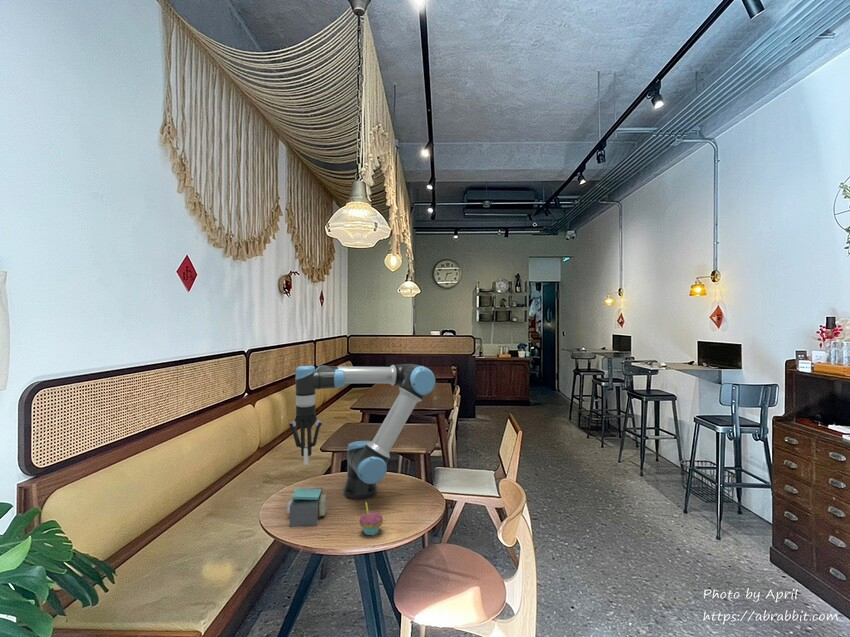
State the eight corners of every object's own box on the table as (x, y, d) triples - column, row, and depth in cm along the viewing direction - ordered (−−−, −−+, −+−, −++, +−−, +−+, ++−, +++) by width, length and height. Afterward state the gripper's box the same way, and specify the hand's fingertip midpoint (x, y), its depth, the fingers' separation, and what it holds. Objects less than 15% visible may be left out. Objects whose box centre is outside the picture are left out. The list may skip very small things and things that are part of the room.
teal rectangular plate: (321, 491, 175) (321, 489, 175) (318, 500, 167) (318, 497, 167) (296, 490, 174) (296, 488, 174) (292, 499, 166) (292, 496, 166)
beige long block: (326, 508, 175) (326, 494, 175) (324, 515, 169) (324, 500, 169) (290, 510, 173) (289, 495, 173) (286, 517, 167) (286, 501, 167)
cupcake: (361, 540, 153) (361, 507, 153) (358, 528, 161) (358, 497, 161) (384, 536, 156) (384, 504, 155) (380, 525, 164) (380, 494, 164)
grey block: (322, 507, 179) (322, 488, 179) (316, 525, 163) (316, 505, 163) (298, 508, 178) (298, 488, 178) (289, 527, 163) (289, 506, 162)
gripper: (323, 402, 175) (324, 459, 175) (291, 403, 174) (291, 461, 174) (320, 406, 167) (321, 466, 168) (286, 407, 166) (287, 467, 167)
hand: (306, 463), depth 171 cm, fingers closed
